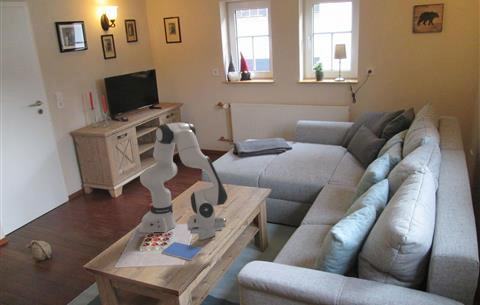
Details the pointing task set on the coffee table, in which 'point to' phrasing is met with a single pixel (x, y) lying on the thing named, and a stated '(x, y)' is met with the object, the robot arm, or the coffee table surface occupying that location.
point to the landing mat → (197, 230)
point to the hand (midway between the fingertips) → (206, 228)
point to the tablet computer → (182, 251)
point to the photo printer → (206, 233)
